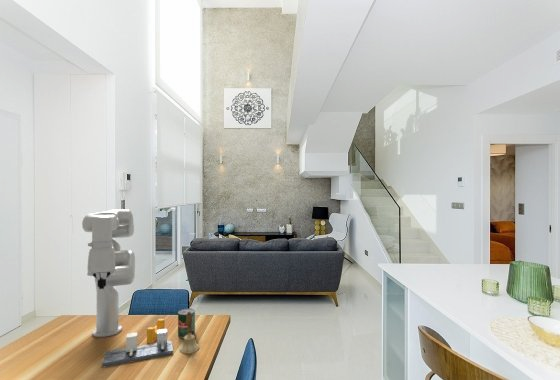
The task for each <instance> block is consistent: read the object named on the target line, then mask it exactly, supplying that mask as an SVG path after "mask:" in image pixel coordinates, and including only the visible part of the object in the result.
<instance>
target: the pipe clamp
mask: <svg viewBox="0 0 560 380" xmlns="http://www.w3.org/2000/svg"><path fill="white" fill-rule="evenodd" d="M156 322H157V323H156V324H157V325H154V326H153V327H151V326H149V327H148V328H147V329H146V344H153V343H155V341H157V330H161V329H166V328H165V323H166V321H165V318H159V319H157V321H156Z"/></svg>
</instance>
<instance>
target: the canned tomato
mask: <svg viewBox="0 0 560 380" xmlns="http://www.w3.org/2000/svg"><path fill="white" fill-rule="evenodd" d="M187 312H191V315H192V324H191V334H192V335H194V336H195V334H196V313H195V312H196V310H195V309H193V308H183V309H180V310H178V312H177V337H179V338H181V339H184V337H185V336H186V335H187V324H186V316H187Z"/></svg>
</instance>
